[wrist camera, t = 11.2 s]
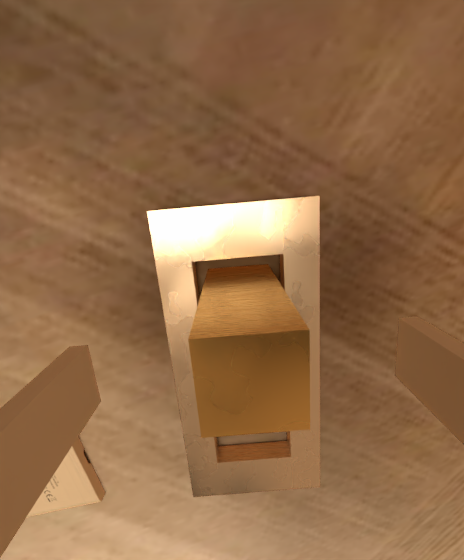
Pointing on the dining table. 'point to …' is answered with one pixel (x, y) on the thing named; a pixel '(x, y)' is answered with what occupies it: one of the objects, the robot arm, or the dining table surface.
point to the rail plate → (182, 308)
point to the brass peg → (249, 355)
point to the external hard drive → (70, 484)
